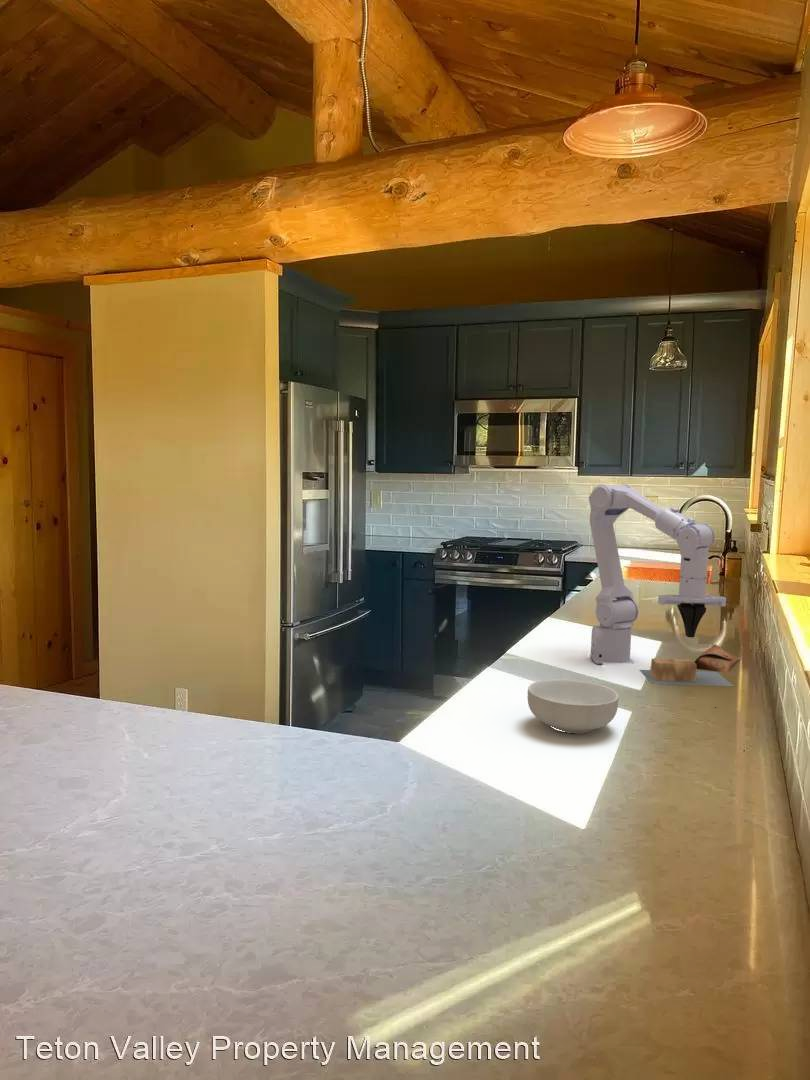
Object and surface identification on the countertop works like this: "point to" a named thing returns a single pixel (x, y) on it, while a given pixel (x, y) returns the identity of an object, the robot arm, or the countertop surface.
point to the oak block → (673, 670)
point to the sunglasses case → (716, 660)
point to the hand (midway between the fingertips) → (689, 636)
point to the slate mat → (701, 679)
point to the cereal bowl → (572, 704)
